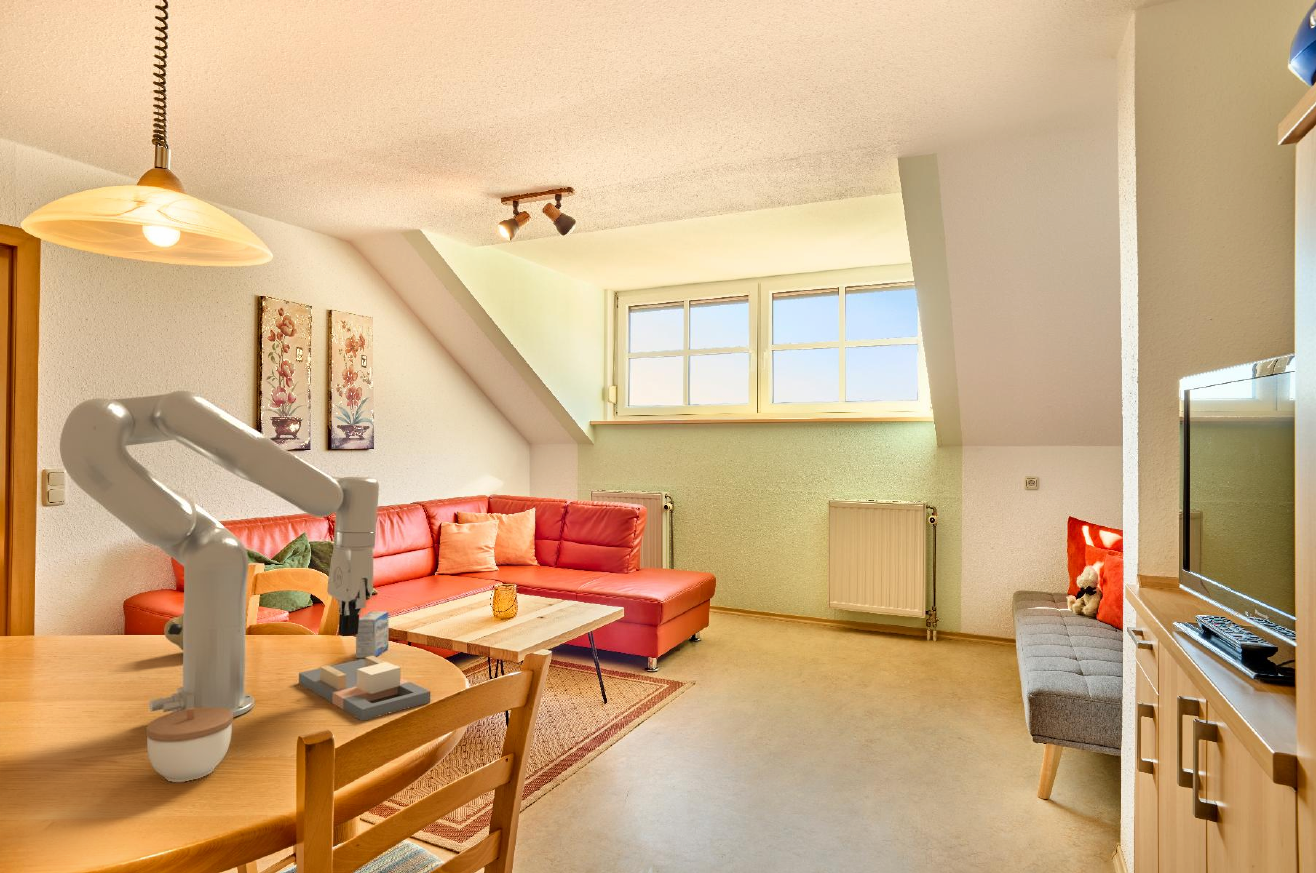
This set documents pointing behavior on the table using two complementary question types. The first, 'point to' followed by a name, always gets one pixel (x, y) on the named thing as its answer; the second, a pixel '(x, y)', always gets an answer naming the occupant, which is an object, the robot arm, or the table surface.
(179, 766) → the lidded jar
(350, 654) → the table surface
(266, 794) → the table surface
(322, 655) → the table surface
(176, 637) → the toy pig
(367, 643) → the medicine box
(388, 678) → the block
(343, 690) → the deck
